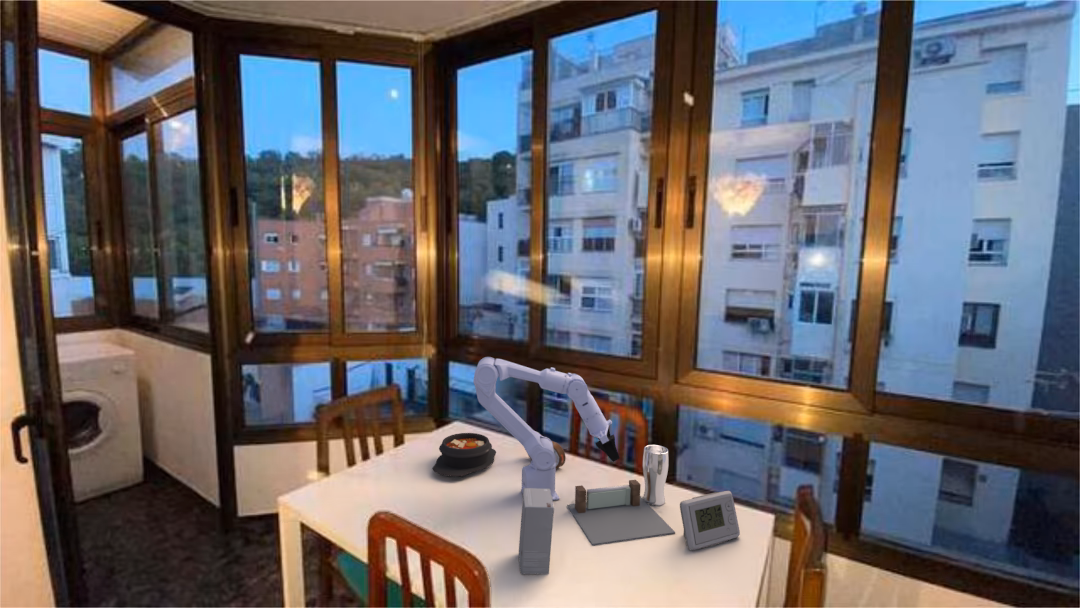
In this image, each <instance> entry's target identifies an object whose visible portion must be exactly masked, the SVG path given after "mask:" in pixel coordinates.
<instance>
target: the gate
mask: <svg viewBox="0 0 1080 608" xmlns="http://www.w3.org/2000/svg"><path fill="white" fill-rule="evenodd" d="M630 491H631V488H630V487H629V484H624V485H616V486H615V485H614V486H608V487H607V486H606V487H598V488H589V489H586V507H587V508H588V509H594V508H602V507H610V506H618V505H630Z"/></svg>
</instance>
